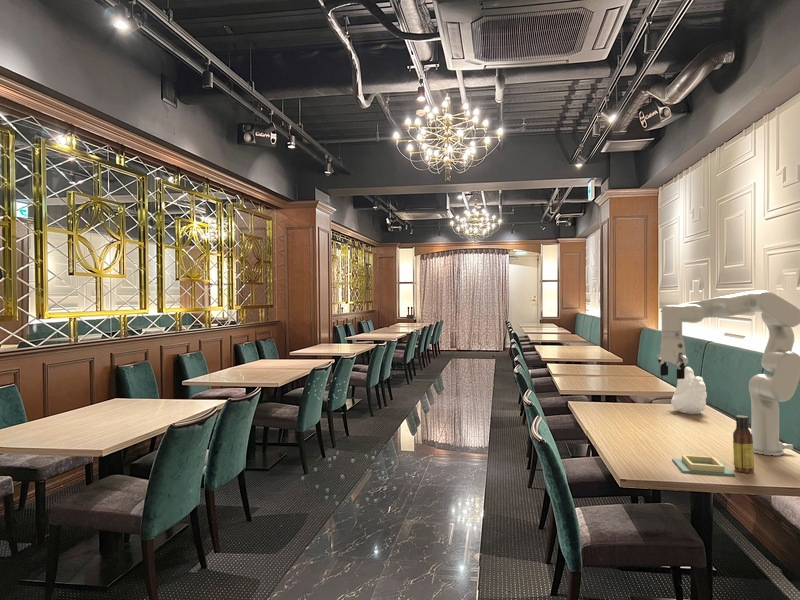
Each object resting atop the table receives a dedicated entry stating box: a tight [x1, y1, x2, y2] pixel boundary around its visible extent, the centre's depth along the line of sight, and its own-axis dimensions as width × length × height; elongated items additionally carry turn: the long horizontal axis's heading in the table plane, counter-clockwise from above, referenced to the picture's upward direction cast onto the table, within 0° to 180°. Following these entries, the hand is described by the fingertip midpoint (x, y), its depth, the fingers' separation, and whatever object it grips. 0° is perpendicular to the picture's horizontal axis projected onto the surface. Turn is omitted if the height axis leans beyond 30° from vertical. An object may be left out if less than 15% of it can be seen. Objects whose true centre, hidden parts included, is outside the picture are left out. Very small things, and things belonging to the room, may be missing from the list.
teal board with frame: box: [671, 454, 737, 477], centre depth 201 cm, size 17×15×3 cm
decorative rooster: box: [670, 366, 708, 415], centre depth 294 cm, size 25×16×25 cm, turn 166°
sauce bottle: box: [732, 414, 755, 474], centre depth 198 cm, size 6×6×20 cm
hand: (672, 377), depth 222 cm, fingers open, 9 cm apart
